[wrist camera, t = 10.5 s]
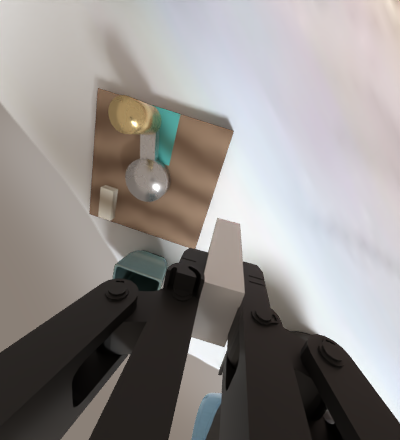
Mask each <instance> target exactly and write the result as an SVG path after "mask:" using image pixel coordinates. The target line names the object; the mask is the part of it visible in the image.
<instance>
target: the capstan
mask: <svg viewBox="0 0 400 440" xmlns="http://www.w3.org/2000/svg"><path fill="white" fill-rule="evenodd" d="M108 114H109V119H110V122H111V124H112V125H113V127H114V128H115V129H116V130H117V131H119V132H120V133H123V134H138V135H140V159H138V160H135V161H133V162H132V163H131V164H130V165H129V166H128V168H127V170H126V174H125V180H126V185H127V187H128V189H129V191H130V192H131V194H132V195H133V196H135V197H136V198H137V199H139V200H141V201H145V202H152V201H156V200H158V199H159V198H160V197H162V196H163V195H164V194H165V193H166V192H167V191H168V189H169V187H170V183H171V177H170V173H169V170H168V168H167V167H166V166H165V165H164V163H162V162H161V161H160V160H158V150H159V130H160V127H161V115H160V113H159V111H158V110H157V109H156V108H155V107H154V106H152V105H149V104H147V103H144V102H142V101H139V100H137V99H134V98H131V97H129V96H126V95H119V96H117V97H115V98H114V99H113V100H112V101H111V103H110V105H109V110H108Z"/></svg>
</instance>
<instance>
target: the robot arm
mask: <svg viewBox="0 0 400 440" xmlns="http://www.w3.org/2000/svg"><path fill="white" fill-rule="evenodd" d="M191 337H193V338H196V339H200V340H203V341H206V342H209V343H213V344H216V345H219V346H222V347H225V344H226V342H227V339H228V345H227V352H226V354H225V357H224V359H223V362H222V364H221V367H220V370H219V374H218V375H222V372H223V380H222V393H209V394H207V395H206V396H205V397H204V398H203V400H202V402H201V404H200V407H199V409H198V413H197V417H196V420H195V425H194V429H193V434H192V439H191V440H400V423H399V422H398V420H397V419H396V418H395V416H394V415H393V414H392V412H391V411H390V410H389V408H388V407H387V405H386V404H385V403H384V401H383V400H382V399H381V397H380V396H379V395H378V393H377V392H376V391H375V389H374V388H373V387H372V385H371V384H370V383H369V381H368V380H367V379H366V377H365V376H364V375H363V373H362V372H361V371H360V369H359V368H358V366H357V365H356V364H355V362H354V361H353V360H352V358H351V357H350V356H349V355H348V354H347V352H346V351H345V350H344V349H343V348H342V347H341V346H339V345H338V344H337V343H336V342H334V341H333V340H331V339H329V338H327V337H325V336H322V335H318V334H316V335H309V334H306V333H301V332H289V331H288V330H286V329H285V328H284V327H283V326H282V322H281V320H280V318H279V316H278V315H277V314H276V313H275V312H274V311H273V310H272V309H271V308H270V304H269V299H268V295H267V290H266V287H265V281H264V277H263V272H262V271H261V270H260V268H259V267H258V266H257V265H254V264H250V263H247V262H243V259H242V245H241V230H240V224H239V223H235V222H231V221H227V220H223V219H219V218H217V221H216V225H215V229H214V232H213V236H212V240H211V244H210V247H209V251H208V252H204V251H200V250H197V249H193V248H189V249H187V250H186V251H184V253H183V255H182V257H181V259H180V261H179V263H175V264H173V265H170V266H169V267H168V269H167V271H166V276H165V282H164V287H163V289H160V290H157V291H138V288H137V286H136V284H134V283H133V282H132V281H130V280H127V279H118V278H117V279H112V280H108V281H106V282H104V283H102V284H100V285H99V286H97V287H96V288H94V289H93V290H92V291H90V292H89V293H87V294H86V295H84V296H83V297H82V298H80V299H78V300H77V301H76V302H74V303H72V304H71V305H70V306H68V307H67V308H65V309H64V310H62V311H61V312H59V313H58V314H56V315H55V316H53V317H52V318H51V319H49V320H48V321H46V322H45V323H43V324H42V325H40V326H39V327H37V328H36V329H35V330H33V331H31V332H30V333H28V334H27V335H26V336H24V337H23V338H21V339H20V340H18V341H17V342H15V343H14V344H12V345H11V346H9V347H8V348H6V349H5V350H4V351H2V352H1V353H0V440H60V439H61V438H62V437H63V436H64V434H65V433H66V432H67V431H68V429H69V428H70V427H71V426H72V424H73V423H74V422H75V421H76V419H77V418H78V417H79V416H80V414H81V413H82V412H83V411H84V409H85V408H86V407H87V406H88V404H89V403H90V402H91V401H92V399H93V398H94V397H95V396H96V395H97V393H98V392H99V391H100V389H101V388H102V387H103V386H104V384H105V383H106V382H107V381H108V380H109V378H110V377H111V375H112V374H113V373H114V372H115V371H116V370H117V368H118V367H119V366H120V365H121V363H122V362H123V361H124V359H125V358H126V357H127V356H128V354H131V355H130V357H129V359H128V361H127V363H126V365H125V367H124V369H123V372H122V373H121V376H120V377H119V379H118V381H117V384H116V385H115V387H114V390H113V392H112V394H111V396H110V398H109V400H108V402H107V404H106V406H105V408H104V410H103V412H102V414H101V416H100V418H99V420H98V422H97V424H96V426H95V428H94V430H93V432H92V434H91V437H90V438H89V440H168V438H169V434H170V429H171V425H172V421H173V416H174V411H175V407H176V402H177V398H178V394H179V389H180V384H181V380H182V375H183V371H184V367H185V362H186V358H187V353H188V349H189V344H190V340H191Z"/></svg>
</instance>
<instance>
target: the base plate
mask: <svg viewBox="0 0 400 440" xmlns="http://www.w3.org/2000/svg"><path fill="white" fill-rule="evenodd" d="M117 96H119V95H118V94H115V93H112V92H109V91H106V90H103V89H100V88H98V94H97V109H96V124H95V139H94V154H93V169H92V184H91V199H90V214H91V215H94V216H97V217H100V218H103V219H106V220H109V221H112V222H115V223H118V224H121V225H123V226H126V227H129V228H132V229H135V230H138V231H141V232H144V233H147V234H150V235H153V236H156V237H159V238H162V239H165V240H168V241H171V242H174V243H176V244H179V245H182V246H185V247H188V248H193V249H195V248H196V245H197V242H198V239H199V236H200V233H201V229H202V226H203V223H204V220H205V217H206V214H207V211H208V208H209V205H210V202H211V199H212V196H213V193H214V190H215V187H216V184H217V181H218V178H219V175H220V172H221V169H222V166H223V163H224V159H225V156H226V153H227V150H228V147H229V144H230V141H231V138H232V135H233V132H234V131H232V130H229V129H226V128H223V127H219V126H216V125H213V124H210V123H207V122H204V121H200V120H197V119H194V118H191V117H188V116H185V115H182V114H178V113H175V112H172V111H169V110H166V109H163V108H160V107H156V106H154V107H155V108H156V109H157V110H158V111H159V113H160V115H161V127H160V130H159V150H158V160H160V161H161V162H162V163H164V165H165V166H166V167H167V168H168V170H169V173H170V177H171V183H170V187H169V189H168V191H167V192H166V193H165V194H164V195H163V196H162V197H160V198H159V199H158V200H156V201H152V202H145V201H141V200H139V199H137V198H136V197H135V196H133V195H132V194H131V192H130V191H129V189H128V187H127V185H126V180H125V174H126V170H127V168H128V166H129V165H130V164H131V163H132V162H133V161H135V160H138V159H140V135H138V134H123V133H120V132H119V131H117V130H116V129H115V128H114V127H113V125H112V124H111V122H110V119H109V114H108V110H109V105H110V103H111V101H112V100H113V99H114V98H115V97H117ZM149 105H150V104H149ZM152 106H153V105H152Z"/></svg>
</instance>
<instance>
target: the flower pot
mask: <svg viewBox="0 0 400 440" xmlns="http://www.w3.org/2000/svg"><path fill="white" fill-rule="evenodd" d="M166 269H167V262H166V260H165V259H164V258H163V257H160V256H157V255H155V254H152V253H149V252H146V251H134V252H131V253H130V254H128V255H127V256H126V257H124V258H123V259H122V260H120V261H119V262H118V263H117V264H115V266H114V272H113V279H117V278H118V279H127V280H130V281H132V282H133V283H134V284H136V286H137V288H138V291H157V290H160V289H161V285H162V282H163V279H164V276H165V273H166Z"/></svg>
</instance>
